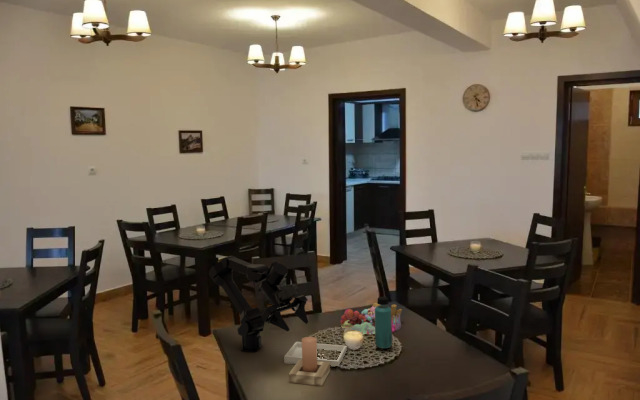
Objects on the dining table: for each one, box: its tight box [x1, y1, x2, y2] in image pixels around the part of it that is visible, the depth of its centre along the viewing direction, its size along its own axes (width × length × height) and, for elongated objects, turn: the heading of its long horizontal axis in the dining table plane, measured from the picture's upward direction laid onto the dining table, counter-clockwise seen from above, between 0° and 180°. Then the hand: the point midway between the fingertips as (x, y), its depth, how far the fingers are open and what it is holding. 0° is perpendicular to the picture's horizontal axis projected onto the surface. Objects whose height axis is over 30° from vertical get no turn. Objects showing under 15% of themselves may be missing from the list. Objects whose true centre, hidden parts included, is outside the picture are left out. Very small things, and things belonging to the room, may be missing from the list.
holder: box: [288, 360, 331, 387], centre depth 171 cm, size 11×11×3 cm
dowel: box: [301, 336, 318, 373], centre depth 171 cm, size 5×5×13 cm
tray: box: [283, 341, 348, 367], centre depth 186 cm, size 20×14×2 cm
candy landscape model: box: [340, 302, 403, 334], centre depth 217 cm, size 25×24×9 cm
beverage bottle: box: [374, 296, 393, 349], centre depth 192 cm, size 6×7×20 cm
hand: (298, 326), depth 177 cm, fingers open, 9 cm apart
